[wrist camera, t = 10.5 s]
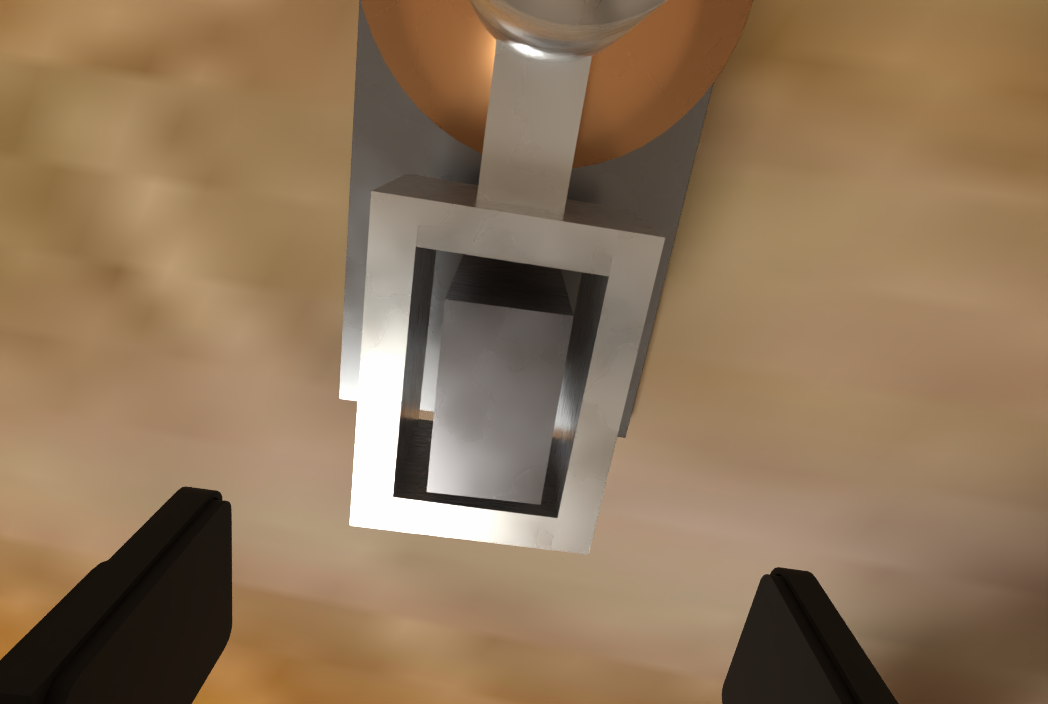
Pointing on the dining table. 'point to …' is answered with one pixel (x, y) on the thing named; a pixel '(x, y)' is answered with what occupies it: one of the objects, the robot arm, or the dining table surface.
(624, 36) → the grey boxy fixture
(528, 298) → the grey block
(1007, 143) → the dining table surface
